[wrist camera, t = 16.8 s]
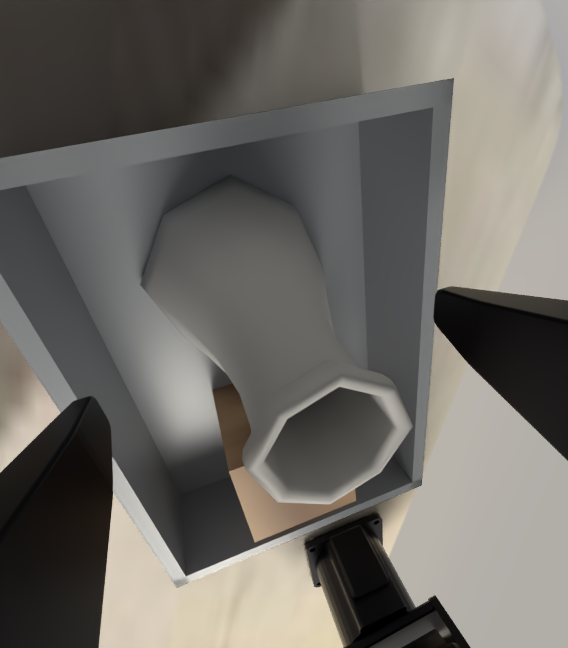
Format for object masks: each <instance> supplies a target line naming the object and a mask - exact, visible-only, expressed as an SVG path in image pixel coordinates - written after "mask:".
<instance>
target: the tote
mask: <svg viewBox="0 0 568 648" xmlns="http://www.w3.org/2000/svg"><path fill="white" fill-rule="evenodd" d="M453 82H454V78H452V79H447V80H441V81H435V82H430V83H424V84H418V85H412V86H407V87H401V88H395V89H390V90H384V91H378V92H373V93H367V94H361V95H356V96H350V97H344V98H339V99H333V100H327V101H322V102H316V103H310V104H304V105H299V106H293V107H287V108H282V109H276V110H270V111H265V112H259V113H253V114H248V115H242V116H236V117H231V118H225V119H219V120H214V121H208V122H202V123H197V124H191V125H185V126H179V127H174V128H168V129H162V130H157V131H151V132H145V133H140V134H134V135H128V136H123V137H117V138H111V139H106V140H100V141H94V142H89V143H83V144H77V145H71V146H66V147H60V148H54V149H49V150H43V151H37V152H32V153H26V154H20V155H15V156H9V157H3V158H0V321H1V323H2V325H3V326H4V328H5V329H6V331H7V332H8V334H9V335H10V337H11V338H12V340H13V341H14V343H15V344H16V346H17V347H18V349H19V350H20V352H21V353H22V355H23V356H24V358H25V359H26V361H27V362H28V364H29V365H30V367H31V368H32V370H33V371H34V373H35V374H36V376H37V377H38V379H39V380H40V382H41V383H42V385H43V386H44V388H45V389H46V391H47V392H48V394H49V396H50V397H51V399H52V400H53V402H54V403H55V405H56V406H57V408H58V409H59V411H60V412H62V411H63V410H64V409H65V408H66V407H67V406H69V405H70V404H71V403H72V402H73V401H75V400H78V399H81V398H84V397H88V396H93V397H95V398H96V399H97V401H98V403H99V404H100V406H101V408H102V409H103V411H104V413H105V415H106V416H107V418H108V420H109V422H110V425H111V433H112V464H113V492H114V494H115V495H116V497H117V498H118V500H119V501H120V503H121V504H122V506H123V507H124V509H125V510H126V512H127V513H128V515H129V516H130V518H131V519H132V521H133V522H134V524H135V525H136V527H137V528H138V530H139V531H140V533H141V535H142V536H143V538H144V539H145V541H146V542H147V544H148V545H149V547H150V548H151V550H152V551H153V553H154V554H155V556H156V557H157V559H158V560H159V562H160V563H161V565H162V566H163V568H164V569H165V571H166V572H167V574H168V575H169V577H170V578H171V580H172V581H173V583H174V584H175V586H176V587H177V588H178V587H180V586H183V585H185V584H187V583H190V582H192V581H195V580H197V579H199V578H202V577H204V576H206V575H209V574H211V573H214V572H216V571H218V570H221V569H223V568H226V567H228V566H230V565H233V564H235V563H237V562H240V561H242V560H245V559H247V558H249V557H252V556H254V555H257V554H259V553H261V552H264V551H266V550H268V549H271V548H273V547H276V546H278V545H280V544H283V543H285V542H288V541H290V540H292V539H295V538H297V537H299V536H302V535H304V534H307V533H309V532H311V531H314V530H316V529H319V528H321V527H323V526H326V525H328V524H330V523H333V522H335V521H338V520H340V519H342V518H345V517H347V516H350V515H352V514H354V513H357V512H359V511H361V510H364V509H366V508H369V507H371V506H373V505H376V504H378V503H381V502H383V501H385V500H388V499H390V498H392V497H395V496H397V495H400V494H402V493H404V492H407V491H409V490H412V489H414V488H416V487H419V486H421V485H422V475H423V462H424V449H425V437H426V424H427V411H428V399H429V386H430V373H431V361H432V348H433V335H434V323H435V322H434V318H433V313H434V301H435V294H436V292H437V285H438V272H439V259H440V247H441V234H442V221H443V209H444V196H445V183H446V171H447V158H448V145H449V133H450V120H451V107H452V95H453ZM229 175H232V176H234V177H236V178H238V179H240V180H242V181H244V182H246V183H248V184H250V185H252V186H254V187H256V188H259V189H261V190H263V191H265V192H267V193H269V194H271V195H273V196H275V197H277V198H279V199H281V200H283V201H285V202H287V203H289V204H291V205H293V206H295V207H296V208H297V210H298V212H299V214H300V217H301V219H302V221H303V223H304V225H305V227H306V230H307V232H308V234H309V236H310V238H311V241H312V243H313V245H314V247H315V249H316V251H317V254H318V256H319V258H320V260H321V262H322V265H323V270H324V277H325V286H326V295H327V301H328V306H329V311H330V316H331V321H332V326H333V331H334V335H335V337H336V339H337V341H338V343H339V344H340V345H341V346H342V348H343V349H344V350H345V351H346V352H347V354H348V355H349V356H350V357H351V358H352V360H353V361H354V362H355V363H356V364H357V366H358V367H359V368H362V369H366V370H370V371H373V372H377V373H381V374H383V375H384V376H386V377H388V378H389V379H391V381H392V382H393V383H394V384H395V385H396V387H397V389H398V391H399V394H400V396H401V399H402V401H403V403H404V406H405V408H406V411H407V413H408V415H409V418H410V420H411V423H412V425H413V427H412V429H411V430H410V431H409V433H408V434H407V436H406V437H405V439H404V440H403V441H402V443H401V444H400V446H399V447H398V449H397V450H396V451H395V453H394V454H393V456H392V457H391V459H390V460H389V461H388V463H387V464H386V466H385V467H384V469H383V470H382V471H381V473H379V474H377V475H376V476H374V477H373V478H371V479H369V480H368V481H366V482H365V483H363V484H362V485H360V486H358V487H357V488H355V492H356V501H354V502H352V503H350V504H347V505H345V506H342V507H340V508H337V509H335V510H333V511H330V512H328V513H325V514H323V515H320V516H318V517H316V518H313V519H311V520H308V521H306V522H303V523H301V524H299V525H296V526H294V527H291V528H289V529H286V530H284V531H282V532H279V533H277V534H274V535H272V536H269V537H267V538H265V539H262V540H260V541H257V542H254V539H253V536H252V533H251V531H250V528H249V525H248V522H247V520H246V517H245V514H244V511H243V509H242V506H241V503H240V500H239V498H238V495H237V492H236V490H235V487H234V484H233V481H232V479H231V476H230V473H229V469H228V465H227V460H226V455H225V450H224V445H223V441H222V436H221V431H220V426H219V421H218V416H217V412H216V407H215V402H214V397H213V392H212V390H213V389H216V388H220V387H223V386H226V385H229V384H232V381H231V380H230V378H229V377H228V375H227V374H226V373H225V372H224V371H223V370H222V369H221V368H220V367H219V366H218V365H217V364H216V363H215V362H213V361H212V360H211V359H210V358H209V357H208V356H207V355H205V354H204V353H203V352H201V351H200V350H199V349H198V348H196V347H195V346H194V345H193V344H191V343H190V342H189V341H188V340H187V339H186V338H184V337H183V335H182V334H181V333H180V332H179V331H178V329H177V328H176V327H175V326H174V325H173V323H172V322H171V321H170V320H169V319H168V318H167V316H166V315H165V314H164V313H163V312H162V310H161V309H160V308H159V307H158V306H157V304H156V303H155V302H154V301H153V300H152V298H151V297H150V296H149V295H148V294H147V292H146V291H145V290H144V289H143V288H142V286H141V285H140V284H141V281H142V278H143V275H144V272H145V269H146V266H147V263H148V260H149V257H150V254H151V251H152V248H153V245H154V242H155V239H156V236H157V233H158V230H159V227H160V224H161V221H162V218H163V215H165V214H166V213H168V212H170V211H171V210H173V209H174V208H176V207H178V206H179V205H181V204H183V203H184V202H186V201H188V200H189V199H191V198H193V197H194V196H196V195H198V194H199V193H201V192H203V191H204V190H206V189H208V188H209V187H211V186H212V185H214V184H216V183H217V182H219V181H221V180H222V179H224V178H226V177H227V176H229Z"/></svg>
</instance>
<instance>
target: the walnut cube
mask: <svg viewBox="0 0 568 648" xmlns="http://www.w3.org/2000/svg"><path fill="white" fill-rule="evenodd" d="M212 392H213V397H214V402H215V407H216V412H217V416H218V421H219V426H220V431H221V436H222V441H223V445H224V450H225V455H226V460H227V465H228V469H229V473H230V476H231V479H232V481H233V484H234V487H235V490H236V492H237V495H238V498H239V500H240V503H241V506H242V509H243V511H244V514H245V517H246V520H247V522H248V525H249V528H250V531H251V533H252V536H253V539H254V542H257V541H260V540H262V539H265V538H267V537H269V536H272V535H274V534H277V533H279V532H282V531H284V530H286V529H289V528H291V527H294V526H296V525H299V524H301V523H303V522H306V521H308V520H311V519H313V518H316V517H318V516H320V515H323V514H325V513H328V512H330V511H333V510H335V509H337V508H340V507H342V506H345V505H347V504H350V503H352V502H354V501H356V492H355V489H354V490H352V491H350V492H349V493H347V494H346V495H344V496H343V497H341V498H339V499H338V500H336V501H335V502H333V503H331V504H306V503H281V502H277V501H276V500H275V499H274V498H273V497H272V496H271V495H270V494H269V493H268V492H267V491H266V490H265V489H264V488H263V487H262V486H261V485H260V484H259V483H258V482H257V481H256V480H255V479H254V478H253V477H252V476H251V475H250V474H249V473H248V472H247V471H246V470H245V467H244V464H243V461H242V455H243V448H244V446H245V444H246V442H247V440H248V438H249V436H250V434H251V427H250V424H249V421H248V418H247V415H246V412H245V409H244V406H243V403H242V400H241V397H240V394H239V392H238V391H237V389H236V388H235V386H234V385H233V383H232V384H229V385H226V386H223V387H220V388H216V389H213V390H212Z"/></svg>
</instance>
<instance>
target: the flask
mask: <svg viewBox="0 0 568 648" xmlns="http://www.w3.org/2000/svg"><path fill="white" fill-rule="evenodd" d="M140 285H141V286H142V288H143V289H144V290H145V291H146V292H147V294H148V295H149V296H150V297H151V298H152V300H153V301H154V302H155V303H156V304H157V306H158V307H159V308H160V309H161V310H162V312H163V313H164V314H165V315H166V316H167V318H168V319H169V320H170V321H171V322H172V323H173V325H174V326H175V327H176V328H177V329H178V331H179V332H180V333H181V334H182V335H183V337H184V338H186V339H187V340H188V341H189V342H190V343H191V344H193V345H194V346H195V347H196V348H198V349H199V350H200V351H201V352H203V353H204V354H205V355H207V356H208V357H209V358H210V359H211V360H212V361H213V362H215V363H216V364H217V365H218V366H219V367H220V368H221V369H222V370H223V371H224V372H225V373H226V374H227V375H228V377H229V378H230V380H231V381H232V383H233V385H234V386H235V388H236V389H237V391H238V392H239V394H240V397H241V400H242V403H243V406H244V409H245V412H246V415H247V418H248V421H249V424H250V427H251V434H250V436H249V438H248V440H247V442H246V444H245V446H244V448H243V455H242V461H243V464H244V467H245V470H246V471H247V472H248V473H249V474H250V475H251V476H252V477H253V478H254V479H255V480H256V481H257V482H258V483H259V484H260V485H261V486H262V487H263V488H264V489H265V490H266V491H267V492H268V493H269V494H270V495H271V496H272V497H273V498H274V499H275V500H276V501H277V502H281V503H306V504H331V503H333V502H335V501H336V500H338V499H339V498H341V497H343V496H344V495H346V494H347V493H349V492H350V491H352V490H354V489H355V488H357V487H358V486H360V485H362V484H363V483H365V482H366V481H368V480H369V479H371V478H373V477H374V476H376V475H377V474H379V473H381V471H382V470H383V469H384V467H385V466H386V464H387V463H388V461H389V460H390V459H391V457H392V456H393V454H394V453H395V451H396V450H397V449H398V447H399V446H400V444H401V443H402V441H403V440H404V439H405V437H406V436H407V434H408V433H409V431H410V430H411V429H412V427H413V425H412V423H411V420H410V418H409V415H408V413H407V411H406V408H405V406H404V403H403V401H402V399H401V396H400V394H399V391H398V389H397V387H396V385H395V384H394V383H393V382H392V381H391V379H389V378H388V377H386V376H384V375H383V374H381V373H377V372H373V371H370V370H366V369H362V368H359V367H358V366H357V364H356V363H355V362H354V361H353V360H352V358H351V357H350V356H349V355H348V354H347V352H346V351H345V350H344V349H343V348H342V346H341V345H340V344H339V343H338V341H337V339H336V337H335V335H334V331H333V326H332V321H331V316H330V311H329V306H328V301H327V295H326V286H325V277H324V270H323V265H322V262H321V260H320V258H319V256H318V254H317V251H316V249H315V247H314V245H313V243H312V241H311V238H310V236H309V234H308V232H307V230H306V227H305V225H304V223H303V221H302V219H301V217H300V214H299V212H298V210H297V208H296V207H295V206H293V205H291V204H289V203H287V202H285V201H283V200H281V199H279V198H277V197H275V196H273V195H271V194H269V193H267V192H265V191H263V190H261V189H259V188H256V187H254V186H252V185H250V184H248V183H246V182H244V181H242V180H240V179H238V178H236V177H234V176H232V175H229V176H227V177H226V178H224V179H222V180H221V181H219V182H217V183H216V184H214V185H212V186H211V187H209V188H208V189H206V190H204V191H203V192H201V193H199V194H198V195H196V196H194V197H193V198H191V199H189V200H188V201H186V202H184V203H183V204H181V205H179V206H178V207H176V208H174V209H173V210H171V211H170V212H168V213H166V214H165V215H163V218H162V221H161V224H160V227H159V230H158V233H157V236H156V239H155V242H154V245H153V248H152V251H151V254H150V257H149V260H148V263H147V266H146V269H145V272H144V275H143V278H142V281H141V284H140Z"/></svg>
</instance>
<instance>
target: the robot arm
mask: <svg viewBox="0 0 568 648" xmlns="http://www.w3.org/2000/svg"><path fill="white" fill-rule="evenodd" d="M433 318H434V322H435V324H436V326H437V327H438V328H439V329H440V330H441V332H442V333H443V334H444V335H445V336H446V338H447V339H448V340H449V341H450V342H451V344H452V345H453V346H454V347H455V348H456V350H457V351H458V352H459V353H460V354H461V355H462V357H463V358H464V359H465V360H466V361H467V362H468V364H469V365H470V366H471V367H472V368H473V369H474V370H475V371H476V372H477V373H479V375H481V376H482V378H483V379H484V380H486V381H487V382H488V383H489V384H490V385H491V386H492V387H493V388H494V389H495V390H496V391H497V392H498V393H499V394H500V395H501V396H502V397H503V398H504V399H505V400H506V401H507V402H508V403H509V404H510V405H511V406H512V407H513V408H514V409H515V410H516V411H517V412H518V413H520V414H521V416H522V417H523V418H524V419H526V420H527V421H528V422H529V423H530V424H531V425H532V426H533V427H534V428H535V429H536V430H537V431H538V432H539V433H540V434H541V435H542V436H543V437H544V438H545V439H546V440H547V441H548V442H549V443H550V444H551V445H552V446H553V447H554V448H555V449H556V450H557V451H558V452H559V453H560V454H562V456H564V457H565V458H566V459H567V460H568V301H567V300H559V299H550V298H542V297H534V296H525V295H517V294H510V293H501V292H494V291H485V290H477V289H469V288H461V287H452V286H451V287H447V288H444V289H440V290H438V291H437V292H436V294H435V301H434V313H433ZM112 499H113V464H112V433H111V425H110V422H109V420H108V418H107V416H106V415H105V413H104V411H103V409H102V408H101V406H100V404H99V403H98V401H97V399H96V398H95V397H93V396H88V397H84V398H81V399H78V400H75V401H73V402H72V403H71V404H70V405H69V406H67V407H66V408H65V409H64V410H63V411H62V412H61V413H60V414H59V415H58V416H57V417H56V418H55V419H54V420H53V421H52V422H51V423H50V424H49V425H48V426H47V427H46V428H45V429H44V430H43V431H42V432H41V433H40V434H39V435H38V436H37V437H36V438H35V439H34V440H33V441H32V442H31V443H30V444H29V445H28V446H27V447H26V448H25V449H24V450H23V451H22V452H21V453H20V454H19V455H18V456H17V457H16V458H15V459H14V460H13V461H12V462H11V463H10V464H9V465H8V466H7V467H6V468H5V469H4V470H3V471H2V472H1V473H0V648H98V647H99V637H100V626H101V616H102V605H103V594H104V584H105V573H106V563H107V552H108V542H109V531H110V520H111V510H112ZM305 551H306V555H307V559H308V564H309V568H310V572H311V577H312V581H313V584H314V586H315V587H320V586H322V588H323V591H324V594H325V597H326V599H327V602H328V605H329V608H330V611H331V613H332V616H333V619H334V622H335V624H336V627H337V630H338V633H339V636H340V638H341V641H342V644H343V647H344V648H470V646H469V645H468V643H467V642H466V640H465V639H464V637H463V636H462V634H461V633H460V631H459V630H458V628H457V627H456V625H455V624H454V623H453V621H452V619H451V618H450V617H449V615H448V614H447V612H446V611H445V609H444V608H443V606H442V605H441V603H440V602H439V600H438V599H437V597H436V596H433V597H431V598H429V599H428V601H427V602H425V603H424V604H422V605H420V606H418V607H415V605H414V603H413V602H412V600H411V598H410V596H409V594H408V592H407V591H406V589H405V587H404V585H403V583H402V581H401V579H400V578H399V576H398V574H397V572H396V570H395V568H394V567H393V565H392V563H391V561H390V559H389V557H388V555H387V554H386V552H385V550H384V548H383V537H382V518H381V517H380V515H379V514H374V515H371V516H369V517H367V518H364V519H362V520H359V521H357V522H355V523H352V524H350V525H348V526H345V527H343V528H341V529H338V530H336V531H334V532H331V533H329V534H327V535H324V536H322V537H319V538H317V539H315V540H312V541H310V542H308V543H307V544H306V545H305Z"/></svg>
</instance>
